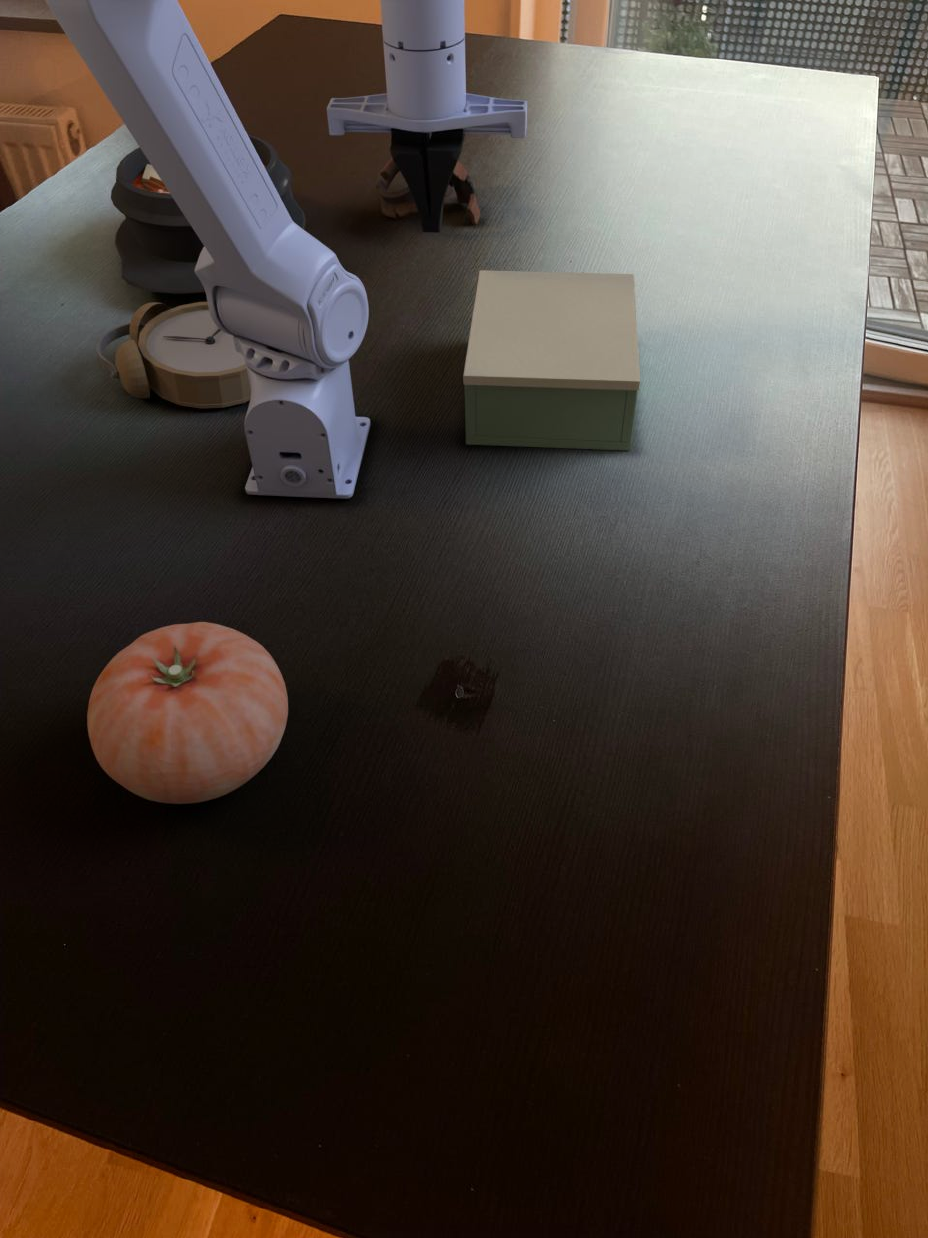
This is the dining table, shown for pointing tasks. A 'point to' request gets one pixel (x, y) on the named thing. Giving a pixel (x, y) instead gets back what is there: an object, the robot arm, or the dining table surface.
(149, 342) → the alarm clock
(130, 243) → the casserole
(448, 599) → the dining table surface
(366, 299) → the robot arm
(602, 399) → the open box
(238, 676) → the tomato
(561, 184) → the dining table surface
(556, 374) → the box lid
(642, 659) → the dining table surface
